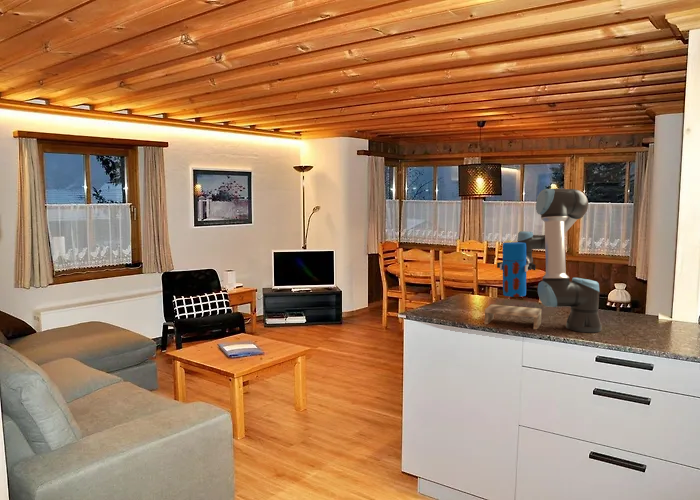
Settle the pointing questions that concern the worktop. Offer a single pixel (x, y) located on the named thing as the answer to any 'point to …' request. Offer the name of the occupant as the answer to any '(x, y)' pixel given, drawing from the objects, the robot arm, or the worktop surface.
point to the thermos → (514, 269)
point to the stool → (513, 313)
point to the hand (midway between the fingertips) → (513, 268)
